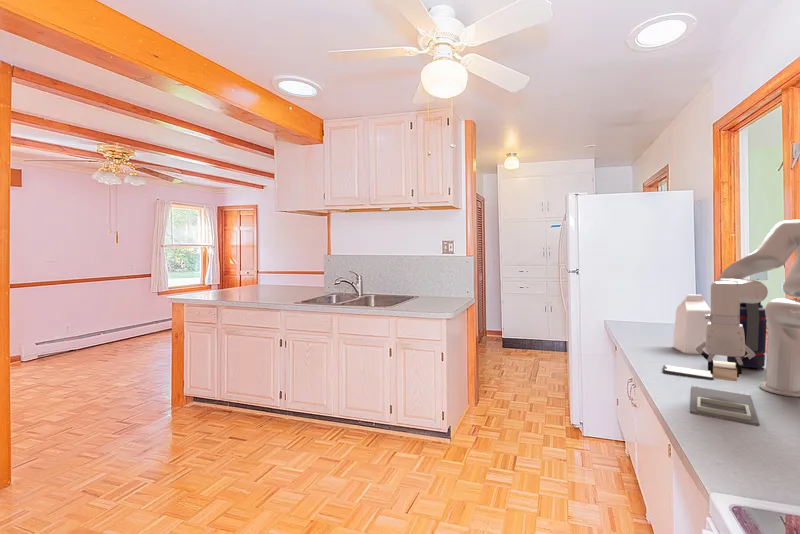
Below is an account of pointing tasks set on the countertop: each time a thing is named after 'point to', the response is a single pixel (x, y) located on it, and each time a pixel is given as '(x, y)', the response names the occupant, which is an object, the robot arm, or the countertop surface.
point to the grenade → (753, 333)
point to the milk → (691, 324)
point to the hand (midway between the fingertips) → (724, 373)
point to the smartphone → (687, 372)
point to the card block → (724, 370)
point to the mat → (723, 397)
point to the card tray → (723, 412)
